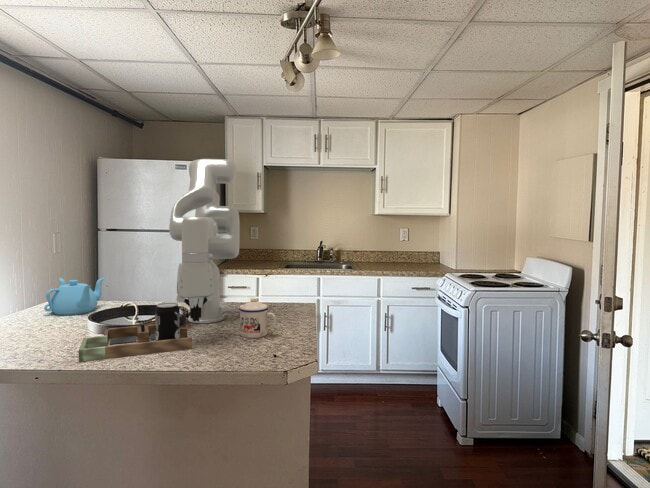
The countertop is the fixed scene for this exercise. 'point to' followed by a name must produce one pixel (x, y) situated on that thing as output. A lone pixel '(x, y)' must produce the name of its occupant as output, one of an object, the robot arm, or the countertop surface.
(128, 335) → the wooden tray
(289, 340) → the countertop surface
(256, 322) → the teacup with lid
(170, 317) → the beverage can
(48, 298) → the teapot
